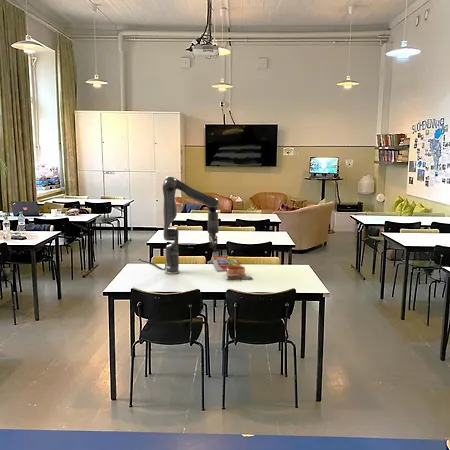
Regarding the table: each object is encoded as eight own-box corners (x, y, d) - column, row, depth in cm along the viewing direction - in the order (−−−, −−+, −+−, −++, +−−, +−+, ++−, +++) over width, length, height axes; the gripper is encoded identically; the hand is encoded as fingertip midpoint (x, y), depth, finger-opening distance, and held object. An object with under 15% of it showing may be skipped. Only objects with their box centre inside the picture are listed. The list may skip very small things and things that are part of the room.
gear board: (242, 267, 337) (217, 268, 334) (242, 270, 337) (217, 271, 335) (233, 254, 381) (211, 255, 378) (233, 257, 381) (211, 258, 379)
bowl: (224, 272, 330) (224, 266, 329) (242, 271, 333) (242, 265, 332) (229, 277, 317) (229, 270, 316) (247, 276, 320) (247, 269, 319)
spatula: (228, 280, 309) (228, 276, 308) (226, 278, 314) (226, 274, 313) (252, 279, 313) (252, 274, 312) (250, 277, 318) (250, 272, 317)
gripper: (205, 224, 316) (205, 247, 318) (210, 227, 302) (210, 251, 305) (215, 224, 318) (215, 246, 320) (221, 227, 304) (221, 250, 307)
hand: (213, 248), depth 313 cm, fingers open, 8 cm apart
